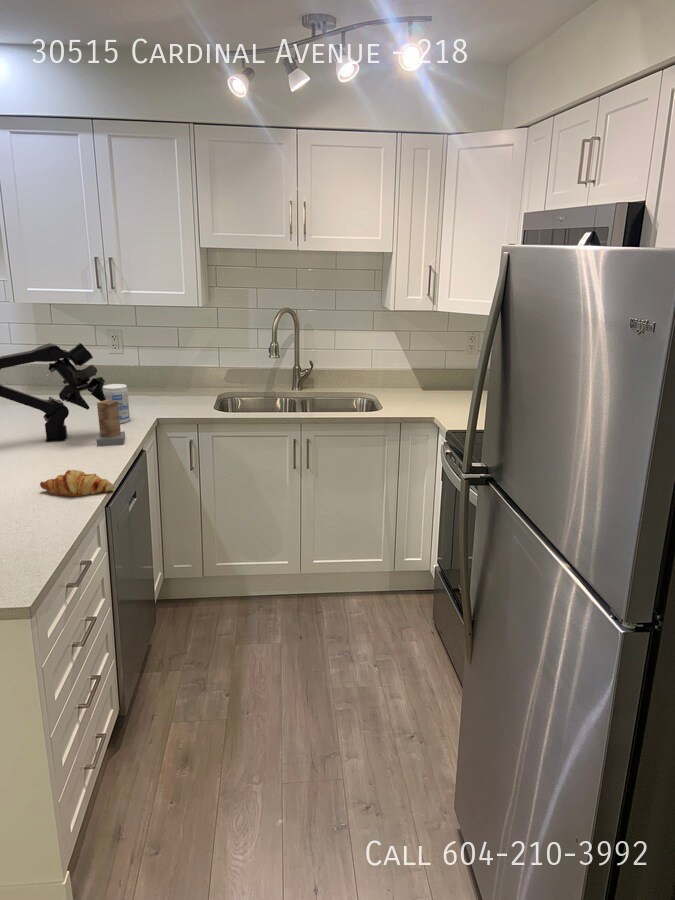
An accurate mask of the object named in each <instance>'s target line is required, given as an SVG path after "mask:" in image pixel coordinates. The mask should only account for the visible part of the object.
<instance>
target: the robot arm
mask: <svg viewBox="0 0 675 900" xmlns="http://www.w3.org/2000/svg"><path fill="white" fill-rule="evenodd" d="M93 358H94V357H93V355H92V354H91V352H90V351H89V350H88V349H87V348H86V347H85V346H84V345H83V343H80V342H79V343H77V344H76V346H75V347H73V348H71V349H70V350H66V349H62V348H60V346H58V345H56V344H55V343H50V342H49V343H46V344H43V345H40V346H38V347H36V348H34V349H32V350H27V351H23V352H17V353H11V354H6V355H2V356H1V355H0V371H1V370H2V369H6V368H11V367H12V368H13V367H17V366H21V365H25V364H26V365H27V364H30V363H31V364H32V363H35V362H40V363H41V362H44V363H45V362H46V363H49V362H50V363H49V364H48V365H49V366H48V370H49V372H50V373H54V372H55V371H56V372H57V373H58V374H59V376H60V377H61V378H62V379H63V381H62V382H63V384H64V386H63V388H62V389H61V390H60V391H59V392H58V397H59V399H56V398H54V397H51V396H49V397H48V399H43V398H40V397H37V396H33V395H31V394H28V393H25V392H22V391H19V390H17V389H14V388H11V387H8V386H6V385H3V384H1V383H0V397H1V398H4V399H6V400H9V401H13V402H16V403H19V404H20V405H21V404H22V405H24V406H27V407H30V408H32V409H36V410H39V411H40V412H43V413H44V415H43V416H42V418H43V419H44V421H45V424H44V427H45V428H44V430H45V437H46V439H45V442H63V441H66V439H67V438H68V428H67V425H65V423H66V422H65V421H66V419H67V418H68V416H69V414H70V411H69V408H68V407H67V406H66V405H65V404H64V401H65V402H66V403H70V404H73V405H76V406H78V407H81V408H83V409H85V410H89V409H90V406H89V404H88V403H87V402H86V400H85V399H84V398H83V396H82V394H81V392H83V391H88V392H90V394H91V396H93V397H94V398H96V399H97V400H99V402H101V401H104V400H106V398H105V396H104V393H103V386H105V382H106V380H105V379H104V378H103V377H102V376H98V377H96V376H97V373H98V369H97V367H96V366H95V365H94V364H91V365H88V366H86V367H85V368H83V369H77V368H76V367H77V366H78V367H81V366H83V365H85V364H86V363H88V362H89V361H91V360H92V359H93ZM51 362H54V363H51ZM75 366H76V367H75ZM94 376H95V377H94ZM91 378H92V379H91ZM89 381H90V382H89ZM88 382H89V383H88Z"/></svg>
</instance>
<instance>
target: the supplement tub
mask: <svg viewBox="0 0 675 900" xmlns="http://www.w3.org/2000/svg"><path fill="white" fill-rule="evenodd" d="M102 390H103V393H104V396H105V398H106V400H112V401H118V410H119V421H120V424H125V423H128V422H129V421H130V420H131V415H130V403H129V391H128V386H127V384H124V383H123V384H122V383H112V384H111V383H110V384H104V385H103V387H102Z"/></svg>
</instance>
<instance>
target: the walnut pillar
mask: <svg viewBox="0 0 675 900" xmlns="http://www.w3.org/2000/svg"><path fill="white" fill-rule="evenodd" d="M96 407H97V416H98V426H99V433H100V436H101V437H108V438H113V437H115V436H118V435H120V434H121V432H122V431H121V423H120V421H119V410H118V401H112V400H104V401H98V402H96Z"/></svg>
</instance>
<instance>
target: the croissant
mask: <svg viewBox="0 0 675 900" xmlns="http://www.w3.org/2000/svg"><path fill="white" fill-rule="evenodd" d="M39 486H40V488H41V489H43V490H45V491H47V492H49V493H51V494H52V495H57V496H62V497H82V496H87V495H94V494H100V493H107V492H110V491H112V490H114V488H115V485H114V484H113V483H111V482H110V480H108V479H106V478H102V477H100V476H98V475H97V474H96V473H90V474H89V473H85V472H84V471H82V470H76V469H72V470H70V469H68V470H66V472H65V473H64V474H59V475H57V476H56V477H55V478H49V479H47V480H46V481H41V482H40V483H39Z"/></svg>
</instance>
